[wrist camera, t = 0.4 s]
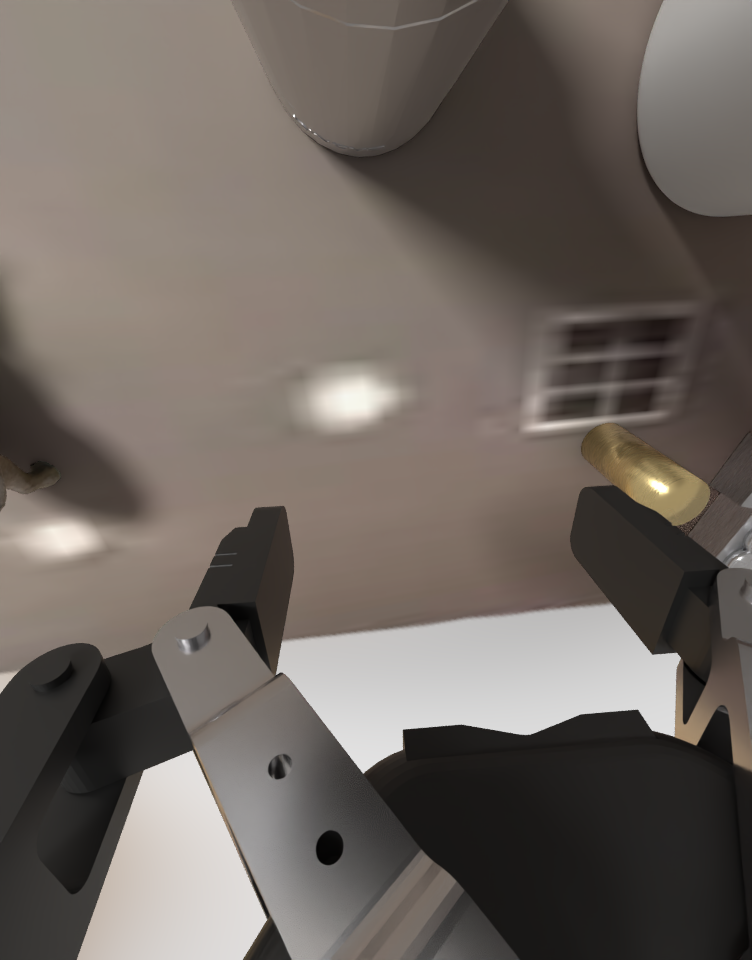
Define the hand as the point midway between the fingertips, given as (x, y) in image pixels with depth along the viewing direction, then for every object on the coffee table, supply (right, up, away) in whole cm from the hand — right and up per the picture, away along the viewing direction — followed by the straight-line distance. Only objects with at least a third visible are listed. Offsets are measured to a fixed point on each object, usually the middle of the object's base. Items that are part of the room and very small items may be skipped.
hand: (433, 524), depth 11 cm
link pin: (+15, +4, +19) cm, 24 cm away
